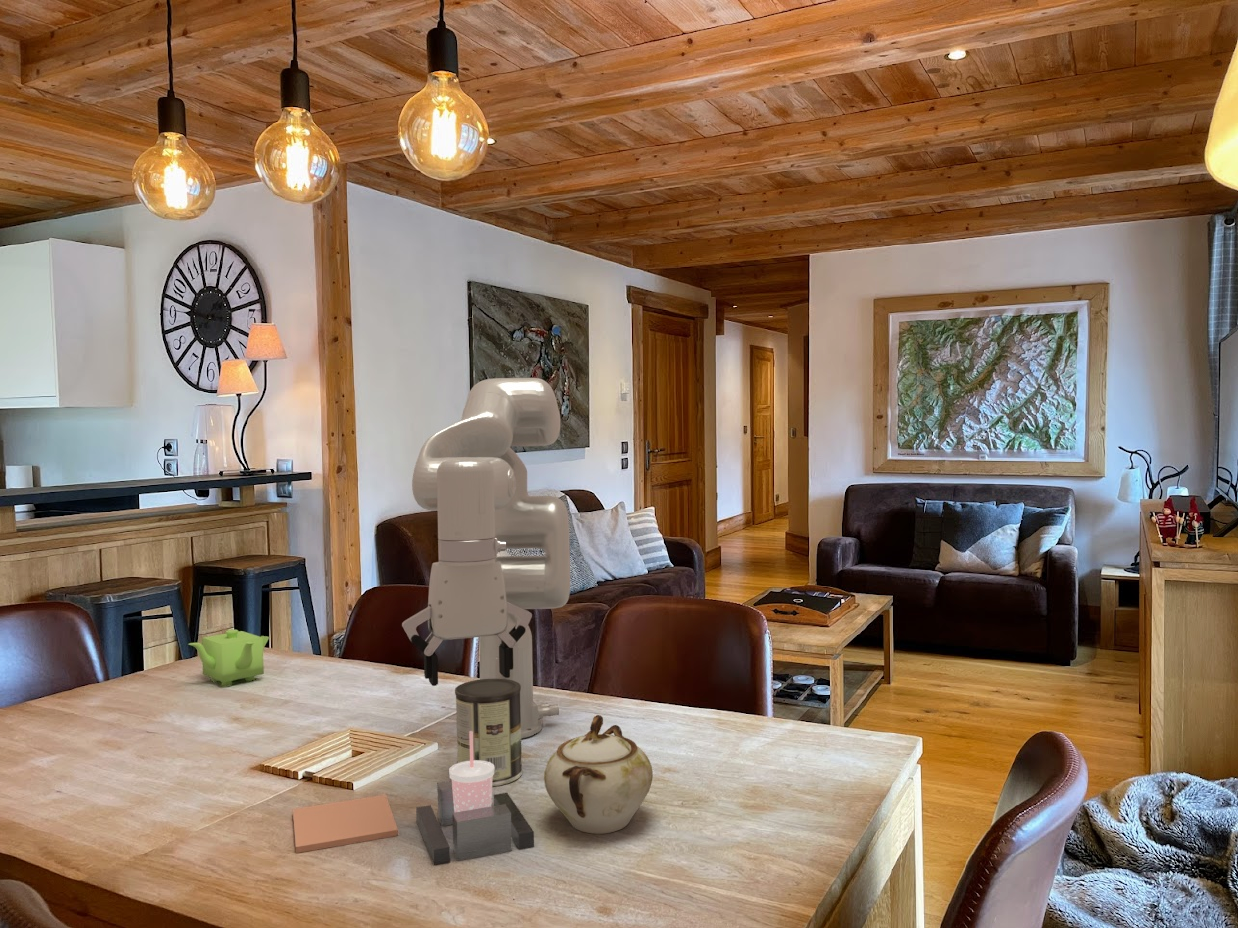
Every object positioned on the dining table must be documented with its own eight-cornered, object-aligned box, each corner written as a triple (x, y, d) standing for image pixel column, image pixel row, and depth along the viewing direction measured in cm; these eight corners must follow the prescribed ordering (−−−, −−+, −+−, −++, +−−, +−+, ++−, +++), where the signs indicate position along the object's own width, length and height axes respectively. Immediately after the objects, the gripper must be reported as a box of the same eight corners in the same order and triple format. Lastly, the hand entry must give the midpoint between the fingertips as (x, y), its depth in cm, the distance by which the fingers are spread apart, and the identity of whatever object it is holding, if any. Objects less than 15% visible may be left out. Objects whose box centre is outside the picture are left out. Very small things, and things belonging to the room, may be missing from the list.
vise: (507, 805, 132) (506, 771, 132) (534, 846, 119) (533, 808, 119) (416, 821, 127) (415, 786, 127) (434, 865, 114) (433, 825, 114)
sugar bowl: (629, 860, 115) (627, 742, 114) (520, 845, 119) (518, 732, 119) (669, 799, 133) (667, 698, 133) (573, 788, 138) (571, 690, 137)
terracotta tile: (385, 799, 135) (385, 794, 135) (398, 835, 123) (397, 829, 123) (292, 814, 130) (292, 808, 130) (295, 852, 118) (295, 846, 118)
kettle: (254, 688, 196) (252, 636, 195) (187, 691, 195) (185, 639, 194) (276, 670, 211) (275, 622, 210) (213, 672, 210) (212, 624, 209)
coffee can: (496, 758, 151) (494, 674, 151) (535, 774, 144) (534, 686, 144) (443, 775, 144) (441, 687, 144) (482, 793, 137) (480, 700, 136)
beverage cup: (492, 843, 120) (490, 738, 119) (446, 844, 120) (443, 739, 119) (499, 823, 126) (497, 723, 125) (455, 824, 126) (452, 724, 126)
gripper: (522, 545, 128) (524, 666, 128) (397, 552, 122) (399, 679, 122) (537, 551, 121) (539, 678, 121) (405, 559, 115) (408, 693, 115)
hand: (469, 679), depth 122 cm, fingers open, 9 cm apart
